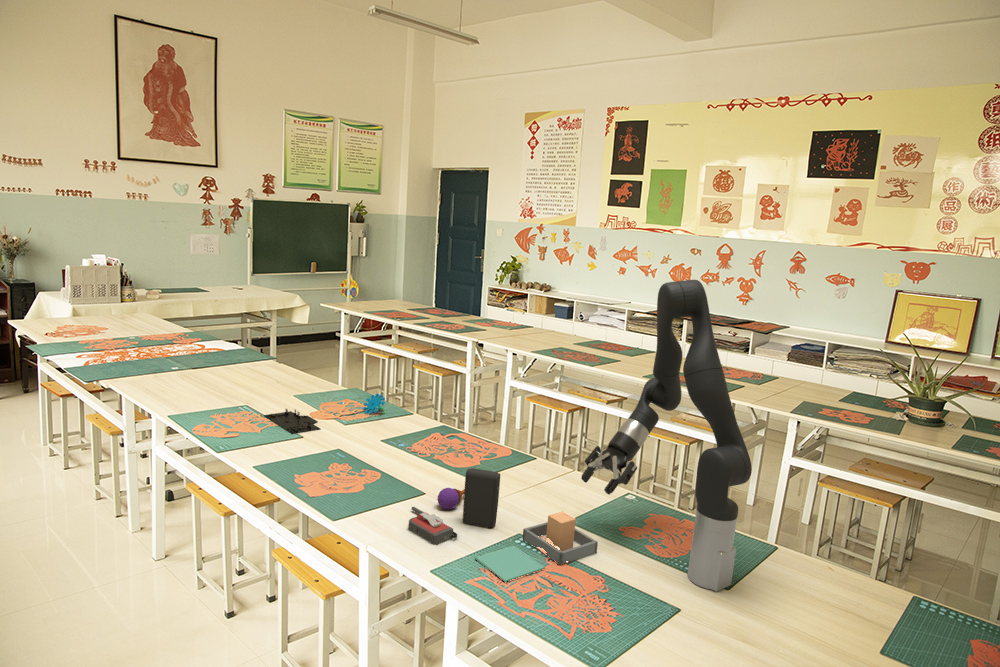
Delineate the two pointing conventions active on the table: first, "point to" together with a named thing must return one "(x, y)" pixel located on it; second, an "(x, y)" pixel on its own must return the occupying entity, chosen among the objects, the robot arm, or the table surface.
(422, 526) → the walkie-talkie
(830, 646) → the table surface
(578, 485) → the table surface
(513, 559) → the mat
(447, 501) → the kendama
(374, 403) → the gear
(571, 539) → the block
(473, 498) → the card reader
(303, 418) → the circuit board
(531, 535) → the grey rectangular frame
